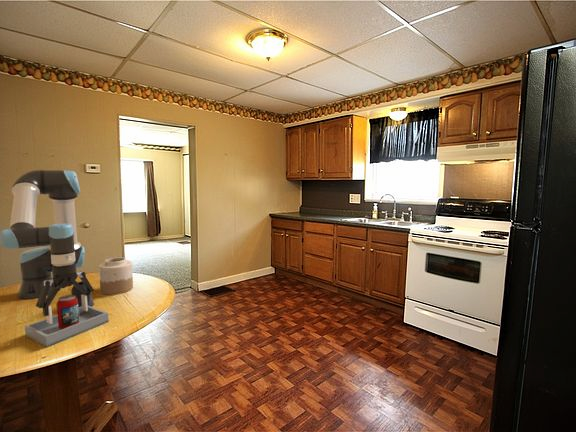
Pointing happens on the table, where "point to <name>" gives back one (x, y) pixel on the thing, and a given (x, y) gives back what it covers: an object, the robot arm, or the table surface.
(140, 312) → the table surface
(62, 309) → the beverage can
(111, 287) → the vase
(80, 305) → the mug
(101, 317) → the bin
